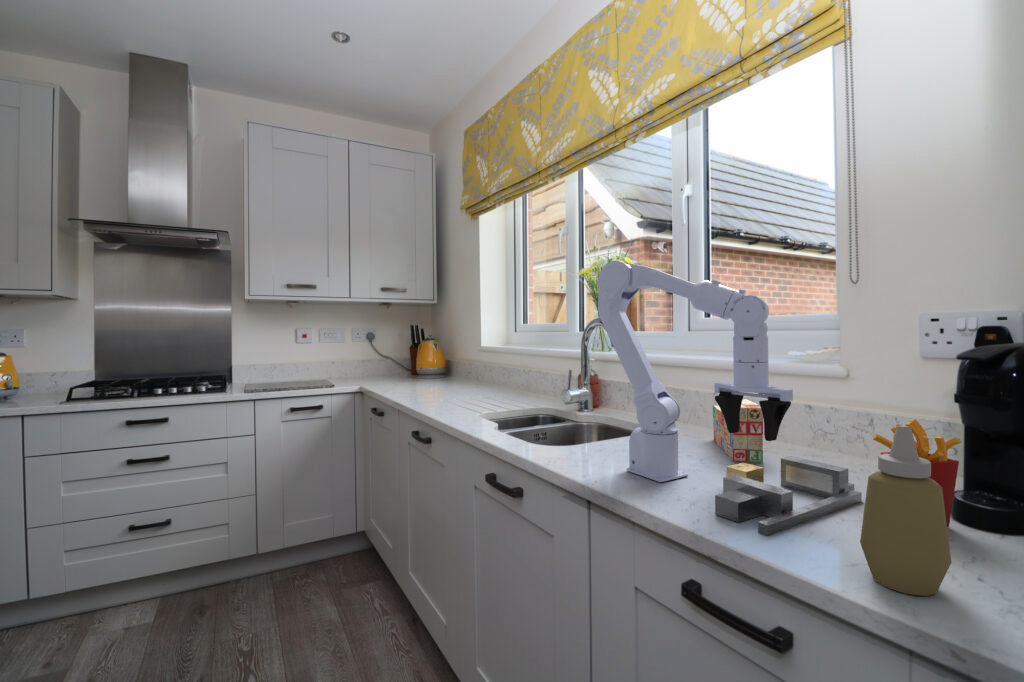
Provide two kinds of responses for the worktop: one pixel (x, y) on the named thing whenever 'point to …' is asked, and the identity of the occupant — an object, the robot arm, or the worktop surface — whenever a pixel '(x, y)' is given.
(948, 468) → the french fries
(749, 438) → the stack of blocks
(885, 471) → the squeeze bottle
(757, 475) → the brass block
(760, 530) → the vise
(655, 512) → the worktop surface
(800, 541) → the worktop surface
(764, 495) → the sliding jaw
